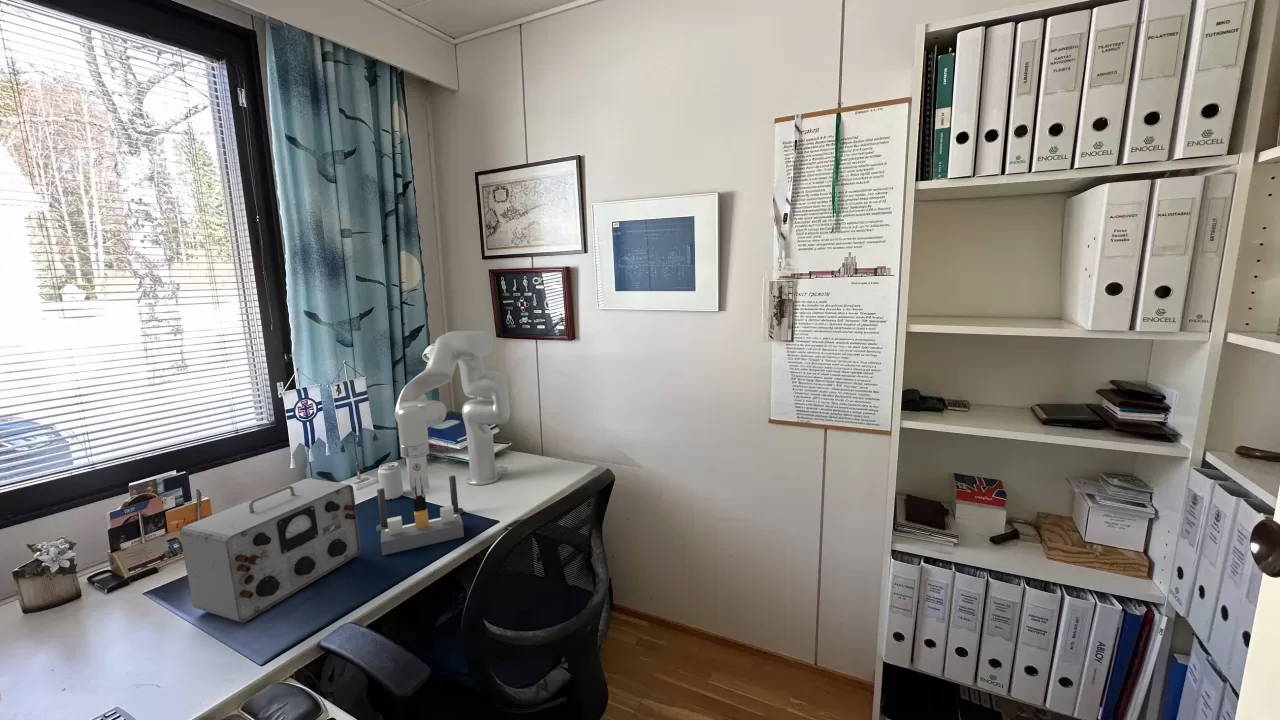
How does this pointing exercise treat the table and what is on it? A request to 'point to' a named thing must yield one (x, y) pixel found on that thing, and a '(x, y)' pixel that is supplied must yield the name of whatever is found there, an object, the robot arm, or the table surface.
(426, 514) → the lever
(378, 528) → the post
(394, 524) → the lever left
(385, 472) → the can
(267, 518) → the vintage electronic device
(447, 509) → the lever right
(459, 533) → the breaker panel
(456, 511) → the post
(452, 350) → the robot arm
